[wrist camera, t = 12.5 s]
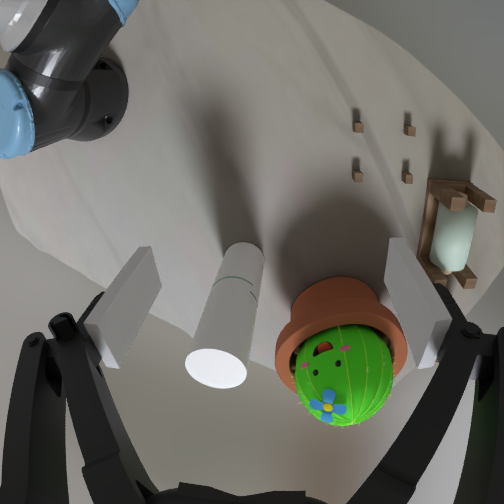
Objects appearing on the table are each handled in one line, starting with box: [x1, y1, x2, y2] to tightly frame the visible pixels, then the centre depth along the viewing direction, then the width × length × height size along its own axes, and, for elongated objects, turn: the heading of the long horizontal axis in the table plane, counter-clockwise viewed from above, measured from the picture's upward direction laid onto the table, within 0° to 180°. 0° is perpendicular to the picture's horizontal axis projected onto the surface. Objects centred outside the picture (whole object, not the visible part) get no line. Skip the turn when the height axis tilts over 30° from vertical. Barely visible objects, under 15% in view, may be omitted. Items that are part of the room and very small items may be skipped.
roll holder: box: [416, 179, 497, 289], centre depth 44 cm, size 16×9×9 cm, turn 4°
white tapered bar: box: [185, 242, 264, 388], centre depth 45 cm, size 7×7×25 cm
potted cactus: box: [275, 277, 407, 426], centre depth 48 cm, size 22×22×25 cm
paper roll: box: [429, 191, 478, 275], centre depth 44 cm, size 14×7×7 cm, turn 4°
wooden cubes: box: [352, 122, 416, 184], centre depth 43 cm, size 9×10×2 cm
